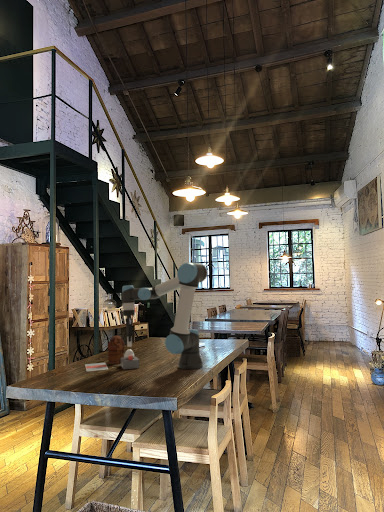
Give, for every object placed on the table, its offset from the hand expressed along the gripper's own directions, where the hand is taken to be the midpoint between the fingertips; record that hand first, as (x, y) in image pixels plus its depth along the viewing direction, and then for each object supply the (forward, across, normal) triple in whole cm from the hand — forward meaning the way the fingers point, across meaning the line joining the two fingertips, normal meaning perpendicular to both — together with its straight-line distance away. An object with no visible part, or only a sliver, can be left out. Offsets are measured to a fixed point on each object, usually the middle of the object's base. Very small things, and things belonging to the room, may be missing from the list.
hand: (129, 346), depth 241 cm
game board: (+12, -8, -20) cm, 25 cm away
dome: (+7, 0, 0) cm, 7 cm away
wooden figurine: (+12, -16, -6) cm, 21 cm away
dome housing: (+12, +1, 0) cm, 12 cm away
